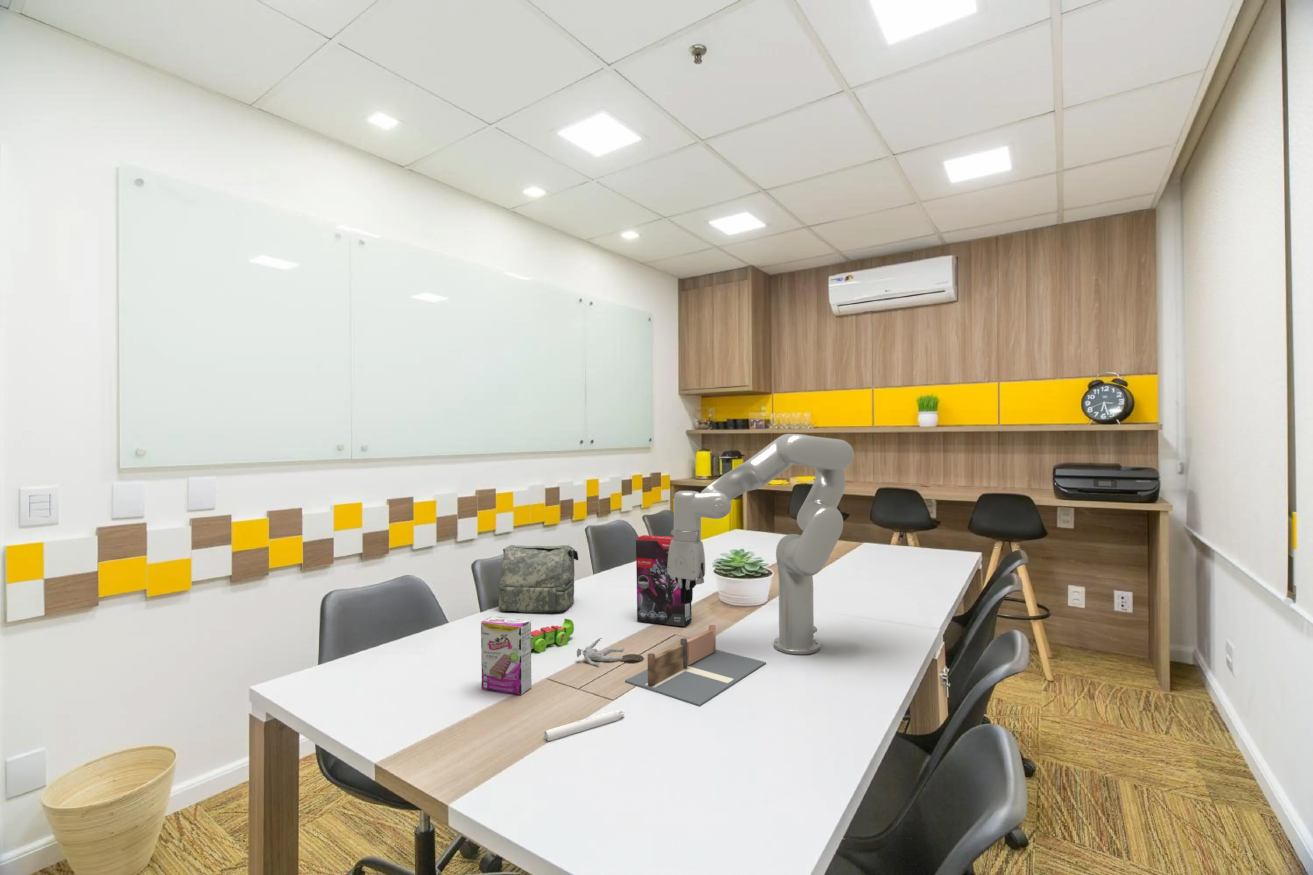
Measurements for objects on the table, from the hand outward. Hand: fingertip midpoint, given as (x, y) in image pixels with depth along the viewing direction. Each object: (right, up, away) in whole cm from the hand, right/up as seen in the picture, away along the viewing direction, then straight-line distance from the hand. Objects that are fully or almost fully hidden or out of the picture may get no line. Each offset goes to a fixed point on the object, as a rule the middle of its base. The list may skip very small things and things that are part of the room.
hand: (686, 602), depth 166 cm
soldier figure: (-23, -15, -5) cm, 28 cm away
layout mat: (+2, -14, -13) cm, 19 cm away
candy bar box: (-44, -15, -22) cm, 51 cm away
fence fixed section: (-5, -14, -16) cm, 22 cm away
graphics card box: (-6, -14, +28) cm, 32 cm away
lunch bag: (-50, -15, +47) cm, 70 cm away
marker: (-23, -15, -41) cm, 49 cm away
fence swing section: (+4, -13, -5) cm, 15 cm away
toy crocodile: (-40, -15, +7) cm, 43 cm away
